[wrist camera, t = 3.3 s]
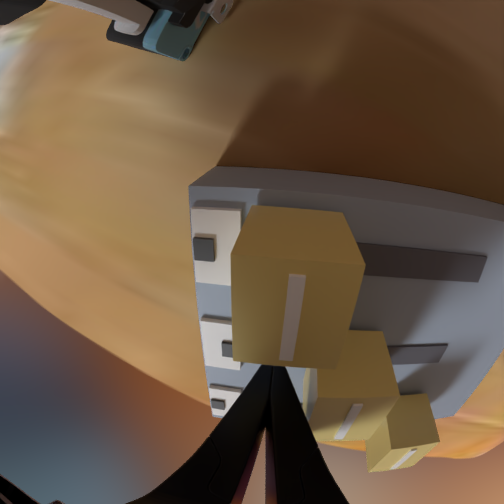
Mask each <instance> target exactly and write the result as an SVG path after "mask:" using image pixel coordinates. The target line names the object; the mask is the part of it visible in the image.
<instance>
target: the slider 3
mask: <svg viewBox="0 0 504 504" xmlns="http://www.w3.org/2000/svg"><path fill="white" fill-rule="evenodd" d="M439 442H440V440H439V436H438V432H437V428H436V424H435V420H434V416H433V413H432V409H431V406H430V402H429V399H428V395H427V393H424V394H414V395H401V396H400V397H399V399H398V400H397V402H396V403H395V405H394V406H393V407H392V409H391V410H390V412H389V413H388V415H387V416H386V417H385V419H384V420H383V422H382V423H381V424H380V426H379V427H378V428H377V430H376V431H375V432H374V434H373V435H372V436H371V438H370V439H369V440H365V443H366V455H367V468H368V472H378V471H386V470H393V469H400V468H406V467H412V466H413V465H414V464H415V463H417V462H418V461H419V460H420V459H421V458H423V457H424V456H425V455H426V454H427V453H428V452H429V451H430V450H432V449H433V448H434V447H435V446H436V445H437V444H438V443H439Z"/></svg>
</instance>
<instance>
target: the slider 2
mask: <svg viewBox="0 0 504 504" xmlns="http://www.w3.org/2000/svg"><path fill="white" fill-rule="evenodd" d="M399 397H400V393H399V389H398V385H397V381H396V377H395V373H394V369H393V366H392V362H391V358H390V355H389V351H388V348H387V344H386V341H385V338H384V334H383V331H362V330H348V333H347V336H346V339H345V343H344V346H343V349H342V352H341V355H340V358H339V361H338V364H337V367H336V369H315V368H306V371H305V375H304V379H303V410H304V413H305V415H306V418H307V420H308V423H309V425H310V427H311V430H312V432H313V435H314V437H315V440H316V441H355V440H369V439H370V438H371V436H372V435H373V434H374V432H375V431H376V430H377V428H378V427H379V426H380V424H381V423H382V422H383V420H384V419H385V417H386V416H387V415H388V413H389V412H390V410H391V409H392V407H393V406H394V405H395V403H396V402H397V400H398V399H399Z"/></svg>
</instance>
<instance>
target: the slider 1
mask: <svg viewBox="0 0 504 504" xmlns="http://www.w3.org/2000/svg"><path fill="white" fill-rule="evenodd" d="M230 258H231V314H232V351H233V361H237V362H245V363H254V364H263V365H273V366H285V367H298V368H315V369H336V367H337V364H338V361H339V358H340V355H341V352H342V349H343V346H344V343H345V339H346V336H347V333H348V330H349V326H350V323H351V319H352V316H353V312H354V309H355V305H356V302H357V298H358V294H359V290H360V286H361V282H362V278H363V274H364V270H365V266H366V265H365V262H364V260H363V257H362V255H361V253H360V250H359V248H358V246H357V243H356V241H355V239H354V236H353V234H352V232H351V230H350V227H349V225H348V223H347V221H346V219H345V216H344V214H343V212H333V211H322V210H311V209H300V208H287V207H274V206H260V205H252V206H251V208H250V210H249V213H248V215H247V217H246V219H245V222H244V224H243V226H242V228H241V231H240V233H239V235H238V238H237V240H236V242H235V244H234V247H233V249H232V251H231V254H230Z"/></svg>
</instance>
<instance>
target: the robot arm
mask: <svg viewBox="0 0 504 504" xmlns="http://www.w3.org/2000/svg"><path fill="white" fill-rule="evenodd" d="M265 427H266V429H265ZM265 430H266V481H265V482H266V484H265V487H266V488H265V490H266V491H265V494H266V495H265V504H349V503H348V501H347V499H346V498H345V496H344V494H343V493H342V491H341V490H340V488H339V487H338V485H337V483H336V482H335V480H334V478H333V476H332V475H331V473H330V471H329V469H328V467H327V465H326V463H325V461H324V458H323V456H322V454H321V451H320V449H319V448H318V444H317V442H316V440H315V437H314V435H313V432H312V430H311V427H310V425H309V423H308V420H307V418H306V415H305V413H304V410H303V408H302V406H301V403H300V401H299V398H298V396H297V393H296V391H295V388H294V386H293V383H292V381H291V378H290V376H289V374H288V371H287V369H286V367H285V366H273V365H263V364H262V365H260V367H259V368H258V370H257V371H256V373H255V374H254V375H253V377H252V378H251V380H250V381H249V383H248V384H247V385H246V387H245V388H244V390H243V391H242V392H241V394H240V395H239V397H238V398H237V399H236V401H235V402H234V403H233V405H232V406H231V407H230V409H229V410H228V411H227V413H226V414H225V415H224V417H223V418H222V420H221V421H220V422H219V424H218V425H217V426H216V427H215V429H214V430H213V431H212V433H211V434H210V435H209V436H210V437H208V438H207V439H206V440H205V441H204V443H203V444H202V445H201V446H200V448H198V450H197V451H196V452H195V453H194V454H193V455H192V456H191V457H190V458H189V459H188V460H187V461H186V463H184V464H183V465H182V466H181V467H180V468H179V469H178V470H176V471H175V472H174V473H173V474H172V475H171V476H170V477H168V478H167V479H166V480H165V481H164V482H163V483H161V484H160V485H159V486H158V487H156V488H155V489H154V490H152V491H151V492H150V493H148V494H146V495H145V496H143V497H141V498H139V499H136V500H134V501H131V502H128V503H126V504H242V501H243V498H244V495H245V492H246V489H247V486H248V482H249V479H250V476H251V473H252V470H253V467H254V464H255V461H256V457H257V454H258V451H259V448H260V444H261V441H262V437H263V434H264V431H265ZM0 504H40V503H39V502H37V501H36V500H35V499H33V498H32V497H30V496H29V495H28V494H26V493H25V492H24V491H23V490H21V489H20V488H19V487H17V486H16V485H14V484H13V483H12V482H10V481H9V480H8V479H6V478H5V477H4V476H2V475H1V474H0ZM50 504H65V503H63V502H61V501H59V500H55V501H53V502H51V503H50Z"/></svg>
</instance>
